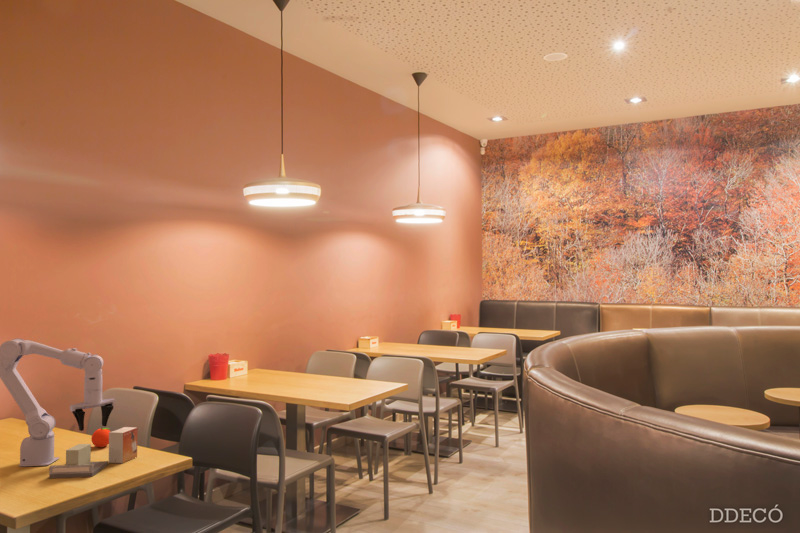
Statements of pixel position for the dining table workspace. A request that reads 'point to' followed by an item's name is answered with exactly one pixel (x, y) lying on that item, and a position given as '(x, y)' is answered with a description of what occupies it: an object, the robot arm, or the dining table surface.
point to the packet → (79, 455)
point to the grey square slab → (76, 470)
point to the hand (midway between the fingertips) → (93, 428)
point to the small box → (123, 444)
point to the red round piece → (101, 437)
